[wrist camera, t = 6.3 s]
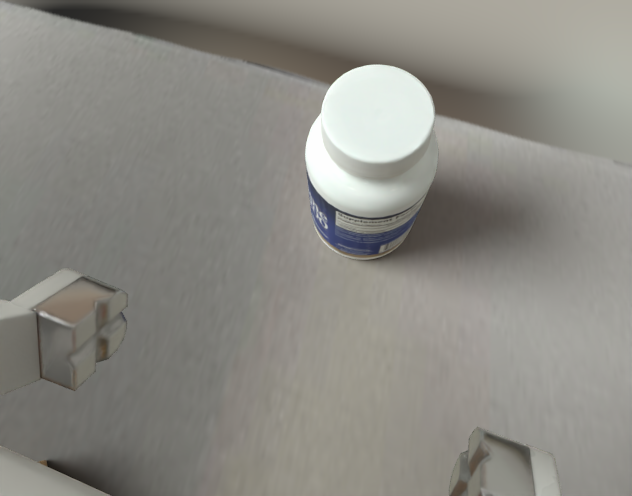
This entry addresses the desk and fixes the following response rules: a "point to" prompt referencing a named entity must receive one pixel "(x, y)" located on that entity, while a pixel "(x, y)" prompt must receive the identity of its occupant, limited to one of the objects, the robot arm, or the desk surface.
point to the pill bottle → (371, 160)
